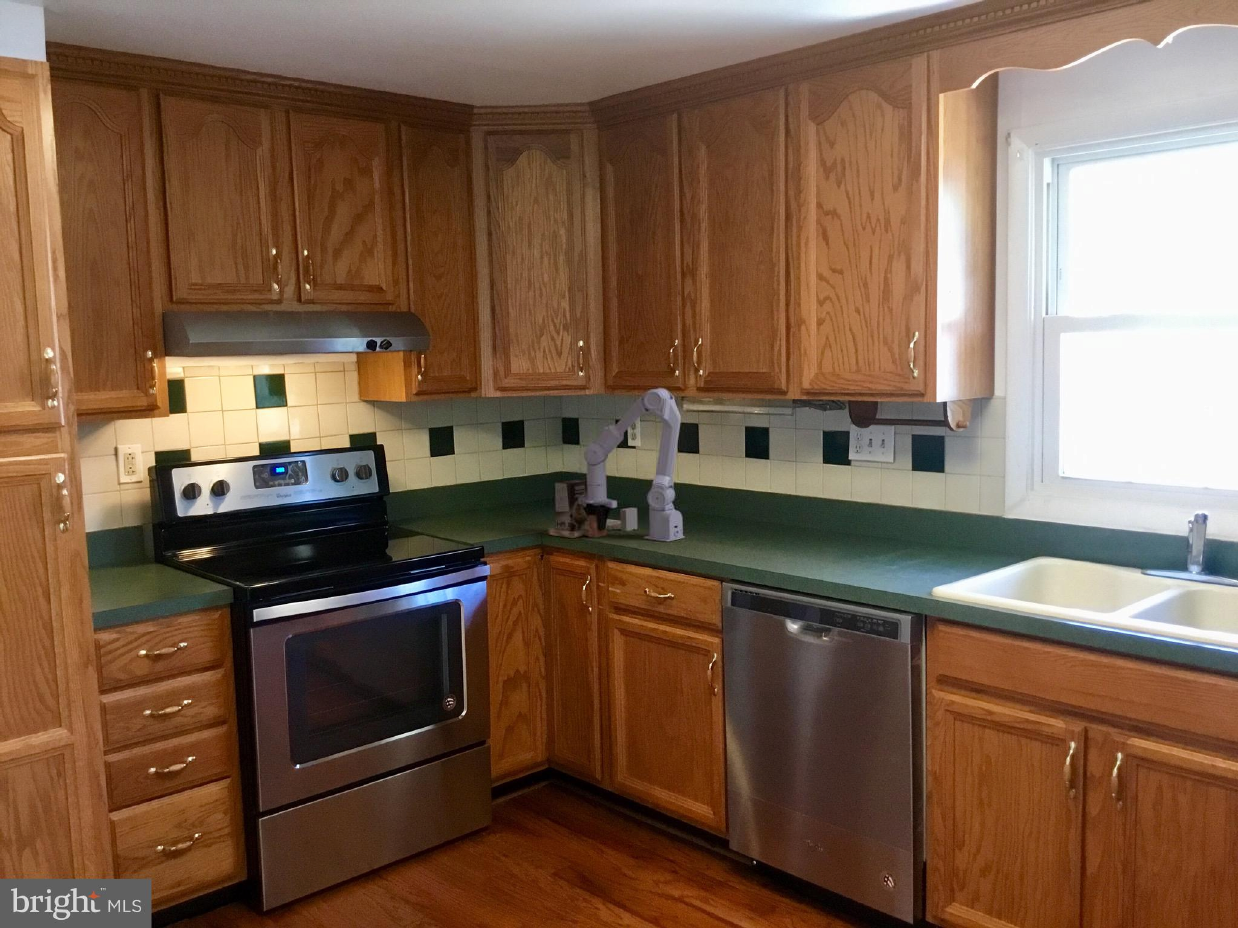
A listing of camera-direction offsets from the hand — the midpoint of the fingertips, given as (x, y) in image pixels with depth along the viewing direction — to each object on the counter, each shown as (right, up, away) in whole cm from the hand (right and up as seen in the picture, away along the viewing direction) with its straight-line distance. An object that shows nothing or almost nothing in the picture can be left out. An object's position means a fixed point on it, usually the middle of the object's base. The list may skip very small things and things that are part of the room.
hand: (598, 529), depth 327 cm
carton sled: (-5, -2, +5) cm, 7 cm away
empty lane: (+4, 0, +16) cm, 17 cm away
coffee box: (-8, -2, +7) cm, 11 cm away
